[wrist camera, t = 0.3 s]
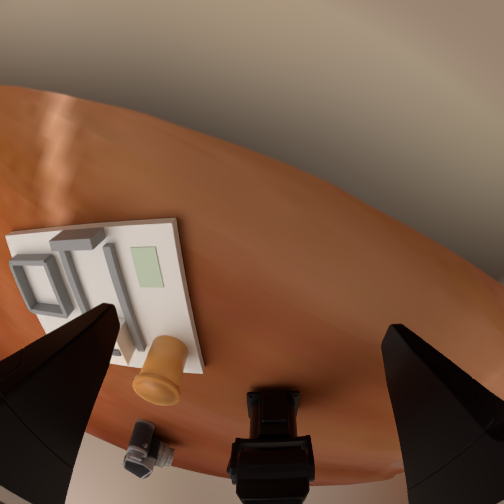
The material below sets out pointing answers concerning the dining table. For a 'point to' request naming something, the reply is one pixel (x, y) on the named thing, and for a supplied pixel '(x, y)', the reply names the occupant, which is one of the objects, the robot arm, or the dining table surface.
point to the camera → (146, 451)
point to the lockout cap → (162, 371)
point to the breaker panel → (109, 279)
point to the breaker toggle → (123, 345)
